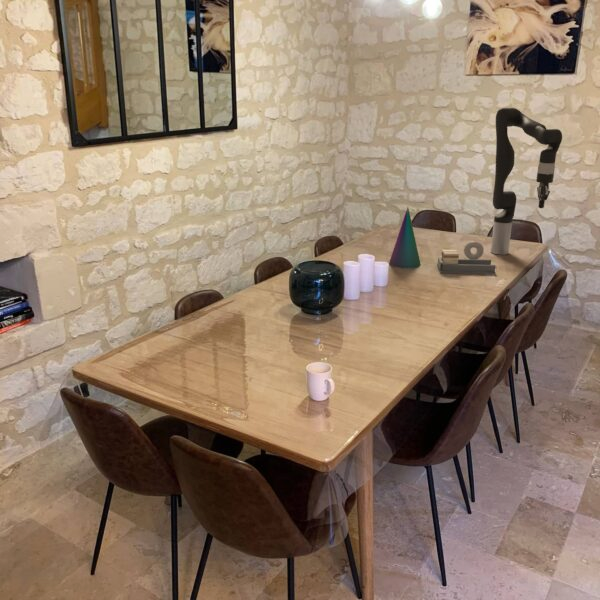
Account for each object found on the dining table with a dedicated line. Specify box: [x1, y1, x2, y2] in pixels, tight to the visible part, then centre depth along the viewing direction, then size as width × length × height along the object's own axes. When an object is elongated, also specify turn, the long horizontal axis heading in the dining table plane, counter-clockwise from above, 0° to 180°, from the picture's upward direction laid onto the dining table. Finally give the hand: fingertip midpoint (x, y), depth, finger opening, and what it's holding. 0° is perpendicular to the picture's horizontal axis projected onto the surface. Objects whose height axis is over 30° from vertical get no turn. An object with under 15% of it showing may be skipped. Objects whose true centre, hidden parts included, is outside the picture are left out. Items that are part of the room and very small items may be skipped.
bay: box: [436, 256, 497, 275], centre depth 289 cm, size 14×26×5 cm, turn 85°
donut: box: [463, 240, 485, 259], centre depth 306 cm, size 10×4×10 cm, turn 76°
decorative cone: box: [388, 206, 422, 269], centre depth 296 cm, size 16×16×30 cm
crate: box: [440, 249, 460, 264], centre depth 289 cm, size 7×7×8 cm
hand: (541, 207), depth 289 cm, fingers closed
